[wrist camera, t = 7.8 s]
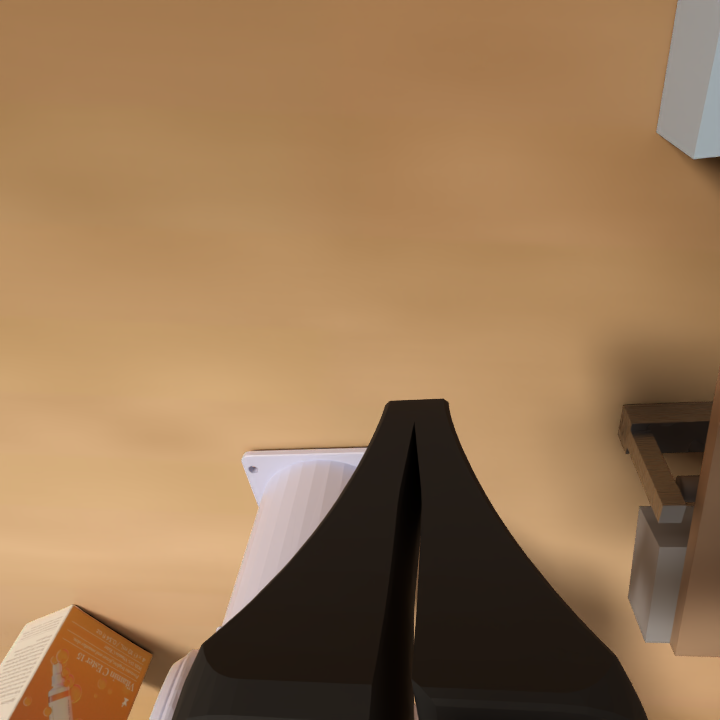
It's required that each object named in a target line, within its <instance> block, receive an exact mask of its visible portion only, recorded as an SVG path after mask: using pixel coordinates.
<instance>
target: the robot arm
mask: <svg viewBox="0 0 720 720" xmlns="http://www.w3.org/2000/svg"><path fill="white" fill-rule="evenodd" d="M242 464H243V467H244V470H245V472H246V475H247V478H248V480H249V483H250V486H251V488H252V491H253V493H254V496H255V499H256V501H257V504H258V507H259V509H258V512H257V515H256V518H255V521H254V525H253V528H252V531H251V534H250V537H249V541H248V544H247V547H246V550H245V553H244V557H243V560H242V563H241V566H240V570H239V573H238V576H237V579H236V582H235V586H234V589H233V592H232V595H231V598H230V602H229V605H228V608H227V611H226V614H225V618H224V621H223V624H222V626H219V627H217V630H216V633H215V634H213V635H212V636H211V637H210V638H209V639H208V640H206V641H205V642H204V643H203V644H202V645H201V647H200V650H197V649H192V650H191V651H189V653H188V654H187V656H184V657H183V658H181V659H180V660H178V661H177V662H175V663H174V664H173V665H172V667H171V668H170V670H169V672H168V674H167V676H166V679H165V681H164V683H163V685H162V688H161V690H160V693H159V695H158V698H157V700H156V703H155V705H154V708H153V710H152V713H151V716H150V718H149V720H648V718H647V716H646V713H645V711H644V709H643V706H642V704H641V702H640V700H639V697H638V695H637V694H636V692H635V690H634V688H633V686H632V684H631V682H630V680H629V678H628V676H627V674H626V672H625V671H624V669H623V667H622V665H621V663H620V662H619V660H618V658H617V657H616V655H615V654H614V653H613V652H612V651H611V650H610V649H609V648H608V647H607V646H606V645H605V644H604V643H603V642H602V641H601V640H600V639H599V638H598V637H597V636H596V635H595V634H594V633H593V632H592V631H591V630H590V629H589V628H588V627H587V626H586V625H585V624H584V623H583V621H582V620H581V619H580V618H579V617H578V616H577V615H576V614H575V613H574V612H573V611H572V609H571V608H570V607H569V606H568V605H567V604H566V603H565V602H564V600H563V599H562V598H561V597H560V596H559V595H558V594H557V593H556V591H555V590H554V589H553V588H552V587H551V585H550V584H549V583H548V582H547V580H546V579H545V578H544V577H543V575H542V574H541V573H540V572H539V570H538V569H537V568H536V567H535V565H534V564H533V563H532V562H531V560H530V559H529V558H528V557H527V555H526V554H525V553H524V551H523V550H522V549H521V547H520V546H519V545H518V543H517V542H516V540H515V539H514V538H513V536H512V535H511V533H510V532H509V530H508V529H507V527H506V526H505V524H504V523H503V521H502V520H501V518H500V517H499V515H498V514H497V512H496V511H495V509H494V507H493V506H492V504H491V502H490V501H489V499H488V497H487V496H486V494H485V492H484V490H483V488H482V487H481V485H480V483H479V481H478V479H477V478H476V476H475V474H474V472H473V470H472V468H471V466H470V463H469V461H468V459H467V457H466V455H465V453H464V451H463V449H462V446H461V444H460V441H459V439H458V436H457V434H456V431H455V428H454V425H453V422H452V418H451V415H450V410H449V403H448V402H447V401H446V400H445V399H424V400H400V401H389V402H388V403H387V404H386V405H385V408H384V411H383V414H382V416H381V419H380V421H379V424H378V426H377V428H376V431H375V433H374V435H373V437H372V439H371V441H370V443H369V445H368V447H367V448H337V449H302V450H268V451H248V452H245V453H244V455H243V457H242ZM253 466H255V467H253ZM420 536H421V539H420ZM419 547H420V560H419V579H418V595H417V612H416V626H415V639H414V604H415V589H416V578H417V568H418V557H419ZM414 697H415V702H416V705H415V704H414Z"/></svg>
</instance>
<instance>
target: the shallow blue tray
mask: <svg viewBox="0 0 720 720" xmlns="http://www.w3.org/2000/svg"><path fill="white" fill-rule="evenodd" d="M656 132H657V133H658V134H659V135H661V136H662V137H663V138H665V139H666V140H668V141H669V142H670V143H672V144H673V145H674V146H676V147H677V148H679V149H680V150H681V151H683V152H684V153H685V154H687V155H688V156H690V157H691V158H692V159H700V158H709V157H718V156H720V0H678V3H677V9H676V15H675V22H674V28H673V34H672V40H671V46H670V52H669V58H668V64H667V70H666V76H665V82H664V88H663V95H662V101H661V107H660V113H659V119H658V125H657V131H656Z"/></svg>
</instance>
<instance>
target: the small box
mask: <svg viewBox="0 0 720 720" xmlns="http://www.w3.org/2000/svg"><path fill="white" fill-rule="evenodd" d="M151 659H152V654H151V653H149V652H147V651H145V650H143V649H142V648H140V647H138V646H137V645H135V644H133V643H132V642H130V641H129V640H127V639H125V638H124V637H122V636H121V635H119V634H117V633H116V632H114V631H113V630H111V629H110V628H108V627H107V626H105V625H103V624H102V623H100V622H99V621H97V620H96V619H94V618H93V617H91V616H90V615H88V614H87V613H85V612H84V611H82V610H81V609H80V608H79V607H77V606H76V605H70V606H68V607H66V608H63V609H61V610H58V611H56V612H53V613H51V614H48V615H46V616H43V617H41V618H38V619H36V620H34V621H31V622H29V623H27V624H26V625H25V627H24V628H23V630H22V631H21V633H20V634H19V636H18V637H17V639H16V641H15V642H14V644H13V646H12V647H11V649H10V650H9V652H8V654H7V655H6V657H5V658H4V660H3V662H2V663H1V665H0V720H127V719H128V716H129V714H130V711H131V709H132V706H133V704H134V701H135V699H136V696H137V694H138V691H139V689H140V686H141V684H142V681H143V679H144V676H145V674H146V671H147V669H148V667H149V664H150V662H151Z"/></svg>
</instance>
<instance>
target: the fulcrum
mask: <svg viewBox="0 0 720 720" xmlns="http://www.w3.org/2000/svg"><path fill="white" fill-rule="evenodd" d="M712 406H713V402H689V403H664V404H638V405H623V410H622V416H621V421H620V427H619V432H618V436H619V439H620V441H621V444H622V446H623V448H624V451H625V453H626V454H630V456H631V458H632V461H633V463H634V466H635V468H636V470H637V473H638V475H639V478H640V480H641V482H642V485H643V487H644V490H645V492H646V495H647V497H648V499H649V502H650V504H651V507H652V509H653V511H654V514H655V516H656V519H657V521H658V523H681V522H682V519H683V516H684V513H685V509H686V506H687V505H686V503H685V501H684V499H683V497H682V495H681V493H680V491H679V488H678V486H677V484H676V482H675V480H674V478H673V476H672V474H671V472H670V470H669V468H668V466H667V463H666V461H665V459H664V457H663V455H662V453H680V452H704V450H705V444H706V439H707V433H708V428H709V422H710V417H711V411H712Z"/></svg>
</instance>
